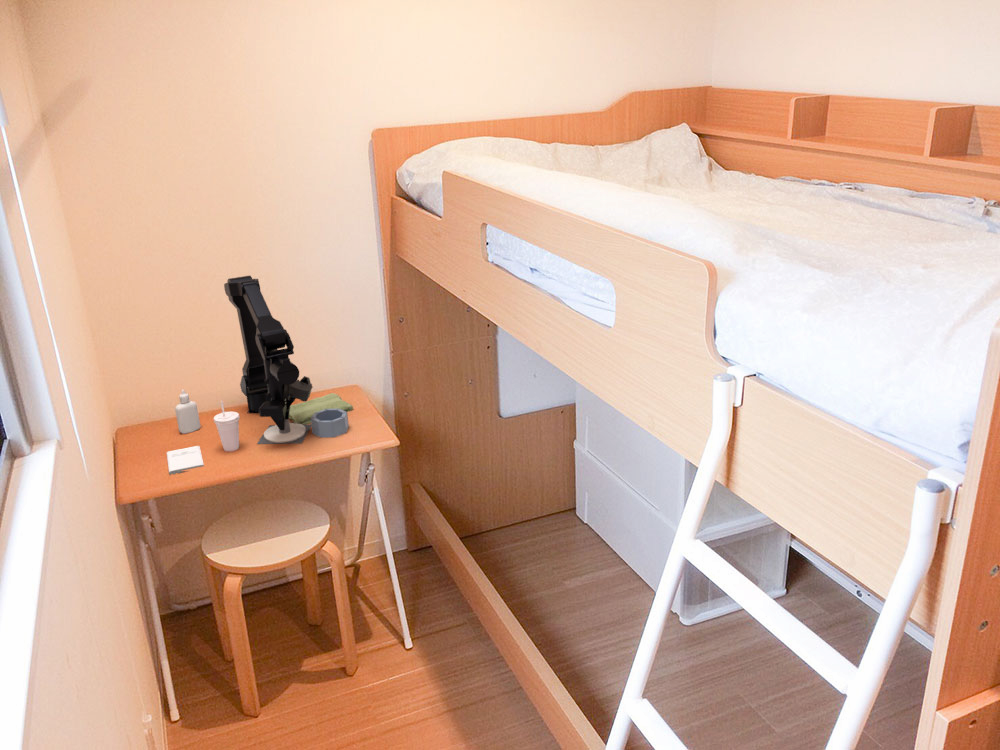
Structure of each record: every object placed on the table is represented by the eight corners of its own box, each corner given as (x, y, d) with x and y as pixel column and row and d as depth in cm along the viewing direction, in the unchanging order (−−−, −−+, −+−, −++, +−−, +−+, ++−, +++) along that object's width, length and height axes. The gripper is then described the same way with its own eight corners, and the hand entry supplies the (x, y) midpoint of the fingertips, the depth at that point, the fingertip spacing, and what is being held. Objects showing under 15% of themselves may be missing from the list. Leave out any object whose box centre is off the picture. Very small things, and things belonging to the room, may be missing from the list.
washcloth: (280, 415, 231) (279, 404, 230) (337, 400, 241) (336, 390, 239) (297, 430, 221) (296, 419, 220) (356, 414, 230) (355, 403, 229)
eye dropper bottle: (179, 428, 223) (172, 388, 219) (201, 425, 225) (194, 386, 220) (179, 434, 219) (171, 394, 215) (200, 431, 221) (193, 391, 216)
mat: (256, 446, 211) (256, 444, 211) (269, 427, 222) (269, 425, 222) (301, 445, 211) (301, 443, 211) (312, 426, 222) (312, 424, 222)
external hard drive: (170, 477, 197) (167, 456, 208) (204, 470, 200) (200, 450, 211) (168, 471, 197) (166, 451, 207) (203, 464, 200) (199, 444, 210)
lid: (259, 443, 211) (257, 430, 210) (270, 425, 222) (268, 413, 220) (300, 442, 211) (298, 429, 210) (310, 425, 221) (308, 412, 220)
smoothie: (215, 449, 210) (206, 400, 205) (238, 442, 214) (230, 394, 209) (224, 457, 205) (216, 407, 200) (248, 450, 209) (240, 400, 204)
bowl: (310, 439, 214) (308, 422, 212) (318, 425, 223) (316, 408, 221) (344, 438, 214) (342, 421, 212) (350, 424, 222) (349, 408, 221)
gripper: (298, 386, 201) (305, 442, 207) (315, 360, 219) (321, 413, 224) (254, 386, 201) (262, 442, 207) (275, 361, 219) (282, 413, 225)
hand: (284, 427), depth 216 cm, fingers closed on lid, 3 cm apart
